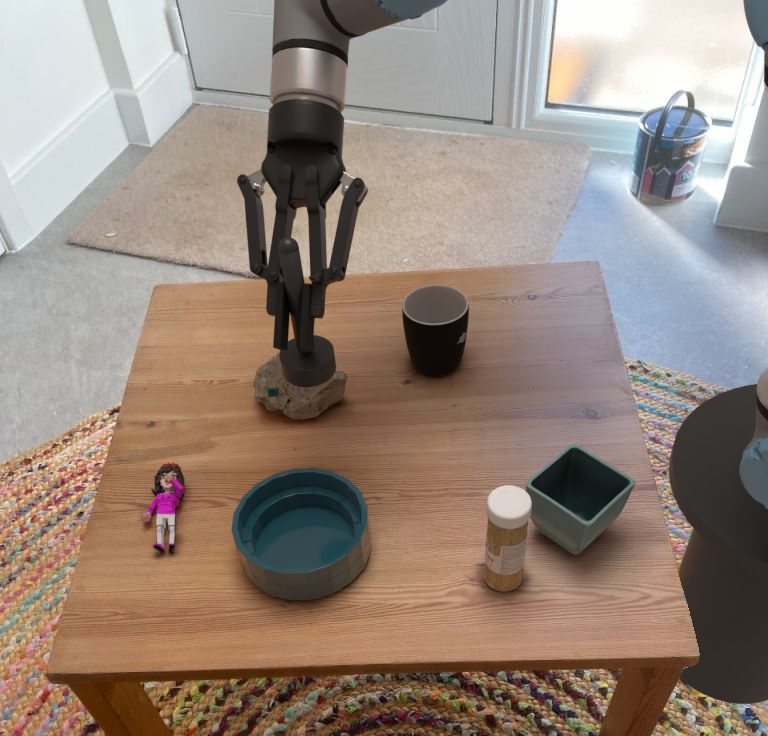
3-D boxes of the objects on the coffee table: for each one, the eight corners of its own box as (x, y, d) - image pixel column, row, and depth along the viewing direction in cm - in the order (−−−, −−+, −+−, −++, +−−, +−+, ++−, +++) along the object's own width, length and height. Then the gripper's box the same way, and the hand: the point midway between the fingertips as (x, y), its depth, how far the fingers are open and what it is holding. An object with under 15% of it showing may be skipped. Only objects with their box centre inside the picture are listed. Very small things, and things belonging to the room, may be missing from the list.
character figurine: (191, 554, 102) (193, 474, 108) (179, 532, 97) (181, 450, 104) (144, 560, 102) (149, 480, 108) (130, 539, 97) (136, 456, 104)
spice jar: (478, 564, 97) (482, 487, 87) (517, 557, 97) (525, 479, 87) (488, 596, 94) (493, 521, 84) (528, 589, 94) (537, 513, 84)
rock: (240, 414, 114) (253, 355, 107) (256, 387, 118) (269, 329, 111) (325, 445, 114) (343, 389, 107) (337, 417, 119) (355, 361, 112)
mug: (465, 385, 117) (466, 326, 109) (401, 382, 118) (397, 323, 110) (471, 330, 124) (473, 271, 116) (411, 328, 125) (408, 270, 118)
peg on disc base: (347, 362, 94) (330, 231, 81) (314, 394, 91) (291, 263, 78) (304, 345, 96) (282, 215, 83) (271, 375, 93) (243, 245, 80)
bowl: (388, 580, 96) (385, 548, 92) (258, 621, 94) (248, 590, 89) (349, 486, 106) (344, 453, 101) (230, 521, 103) (219, 489, 99)
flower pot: (625, 531, 99) (638, 480, 92) (578, 576, 95) (588, 526, 88) (565, 492, 103) (573, 441, 96) (518, 534, 99) (523, 483, 92)
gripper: (387, 124, 86) (371, 357, 89) (246, 122, 88) (235, 349, 91) (374, 96, 79) (358, 350, 81) (221, 94, 81) (209, 341, 84)
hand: (293, 349), depth 86 cm, fingers closed on peg on disc base, 2 cm apart
